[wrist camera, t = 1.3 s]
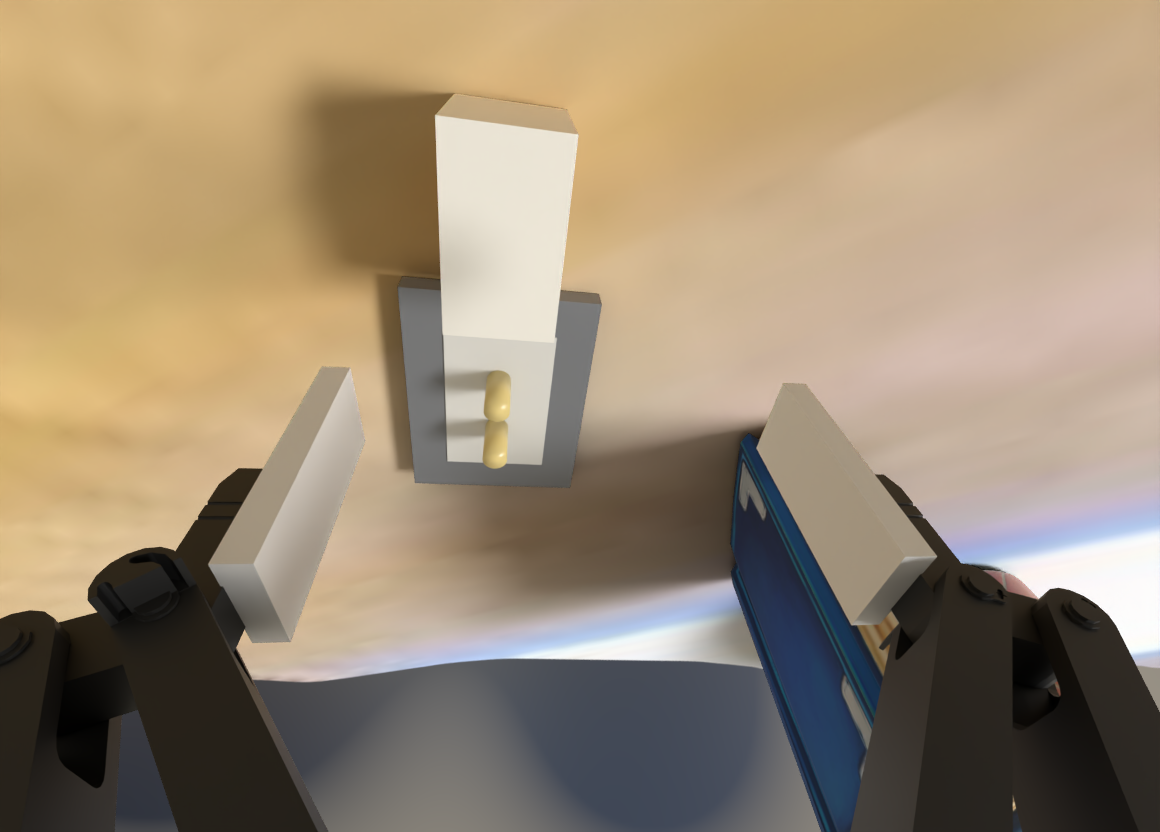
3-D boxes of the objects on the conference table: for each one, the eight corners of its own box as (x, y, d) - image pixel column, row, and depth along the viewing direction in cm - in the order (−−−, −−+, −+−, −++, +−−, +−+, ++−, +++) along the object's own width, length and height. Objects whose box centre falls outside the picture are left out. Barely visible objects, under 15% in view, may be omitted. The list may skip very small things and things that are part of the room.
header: (402, 276, 31) (384, 314, 27) (598, 293, 32) (609, 332, 28) (418, 469, 40) (406, 518, 36) (568, 474, 42) (573, 521, 38)
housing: (454, 93, 25) (435, 115, 20) (567, 109, 26) (578, 134, 20) (457, 278, 31) (442, 334, 25) (549, 286, 32) (554, 343, 26)
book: (789, 574, 54) (941, 892, 34) (723, 584, 54) (837, 907, 34) (823, 416, 41) (1104, 791, 21) (735, 430, 41) (932, 816, 21)
